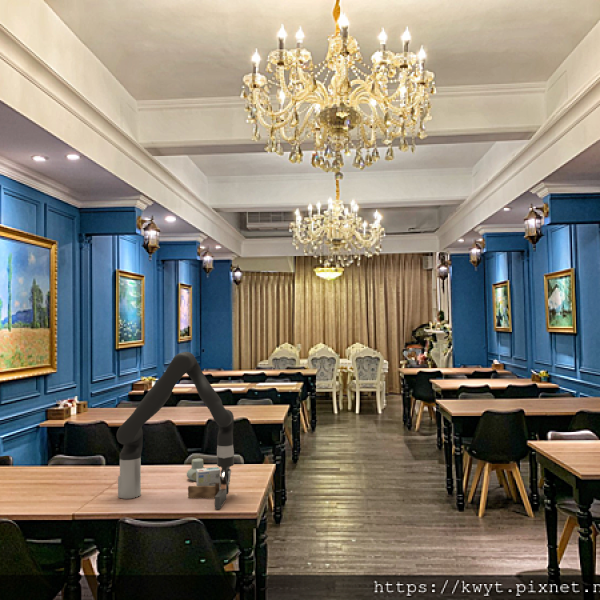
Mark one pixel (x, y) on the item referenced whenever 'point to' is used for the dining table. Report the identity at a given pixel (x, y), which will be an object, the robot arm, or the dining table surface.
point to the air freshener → (194, 468)
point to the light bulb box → (208, 476)
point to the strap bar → (221, 497)
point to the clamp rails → (203, 491)
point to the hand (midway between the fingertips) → (225, 493)
